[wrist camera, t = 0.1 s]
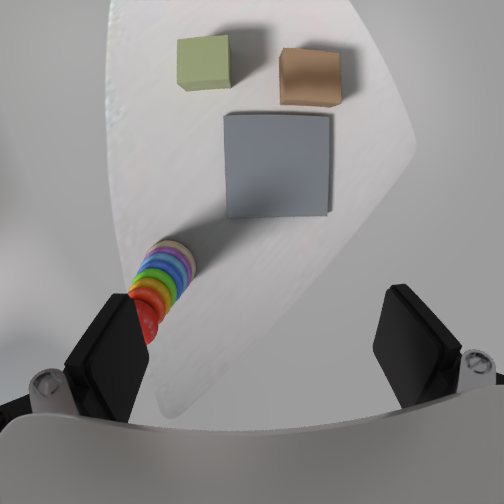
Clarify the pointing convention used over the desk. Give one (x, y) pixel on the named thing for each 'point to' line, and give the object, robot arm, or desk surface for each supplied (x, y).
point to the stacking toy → (161, 283)
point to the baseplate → (276, 165)
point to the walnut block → (309, 78)
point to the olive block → (204, 63)
